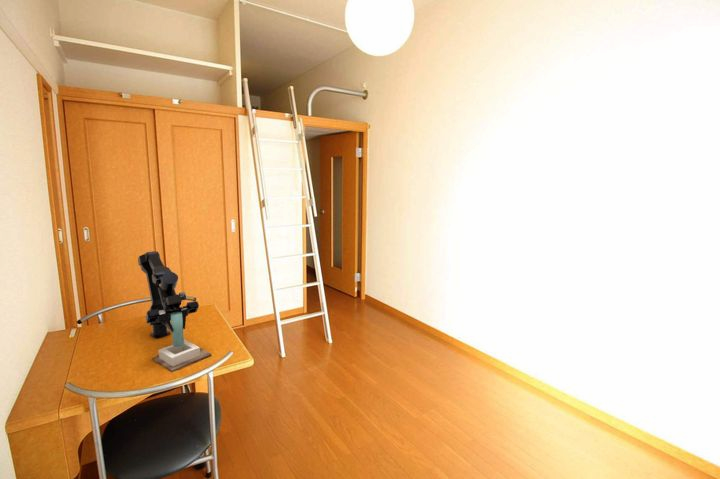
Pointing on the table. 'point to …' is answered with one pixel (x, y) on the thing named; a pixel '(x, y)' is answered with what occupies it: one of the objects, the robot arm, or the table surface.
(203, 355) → the base board
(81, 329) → the table surface
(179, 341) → the teal peg
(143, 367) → the table surface
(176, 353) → the socket
